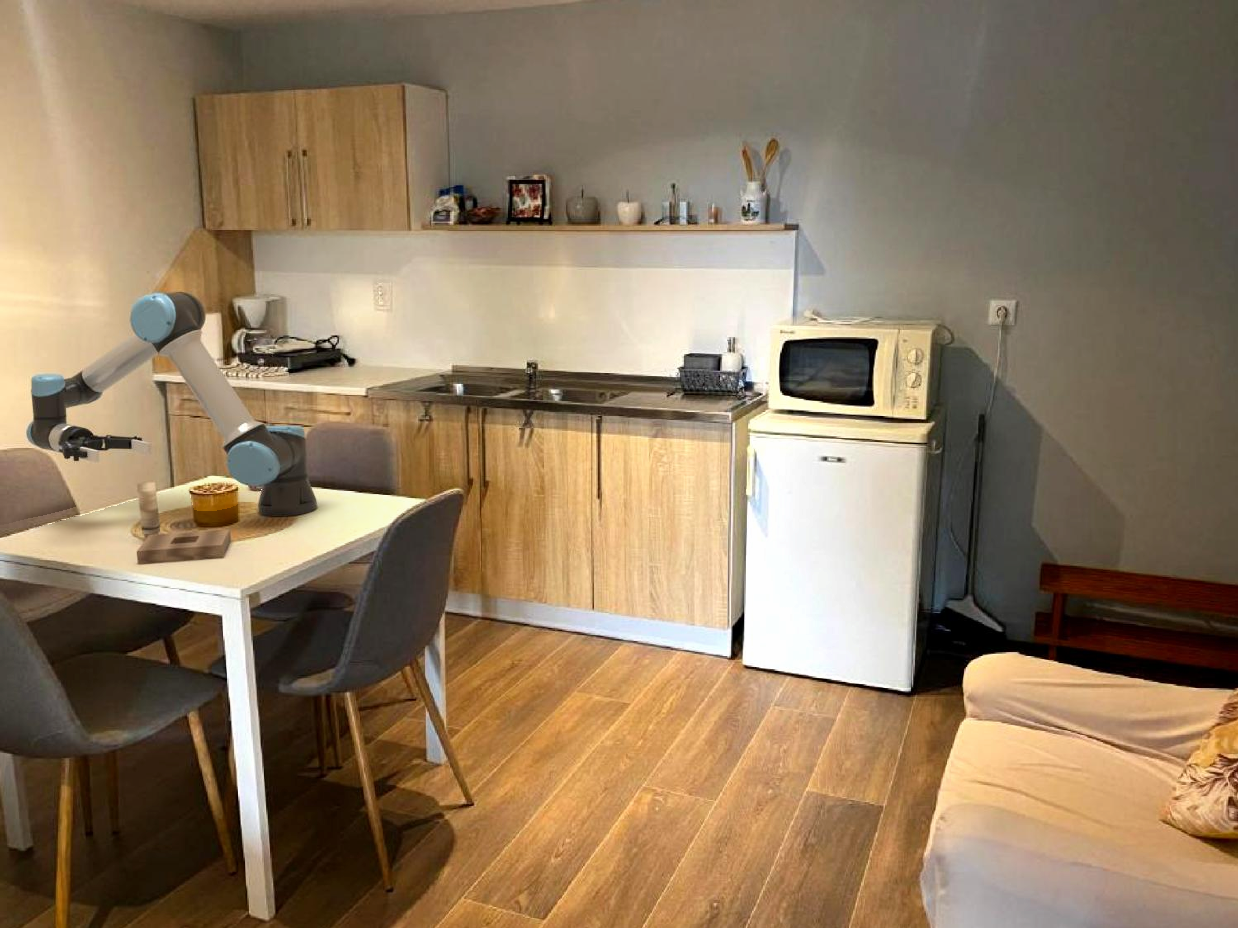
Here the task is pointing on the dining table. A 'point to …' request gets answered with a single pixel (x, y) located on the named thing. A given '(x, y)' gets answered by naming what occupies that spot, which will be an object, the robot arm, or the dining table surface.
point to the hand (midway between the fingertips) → (123, 452)
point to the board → (184, 546)
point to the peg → (148, 508)
